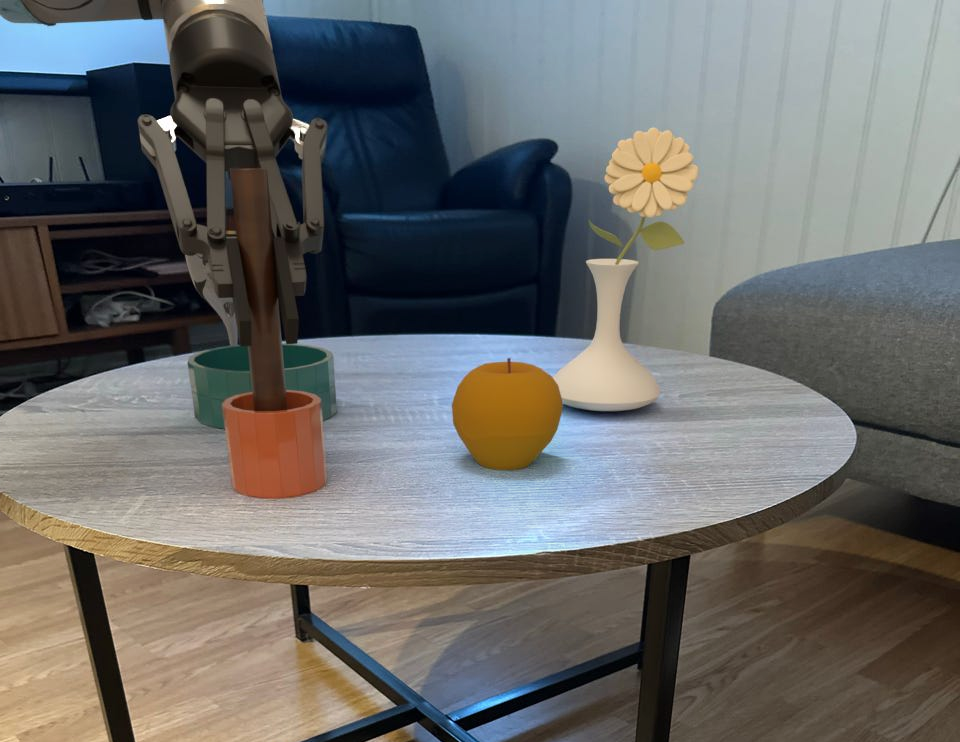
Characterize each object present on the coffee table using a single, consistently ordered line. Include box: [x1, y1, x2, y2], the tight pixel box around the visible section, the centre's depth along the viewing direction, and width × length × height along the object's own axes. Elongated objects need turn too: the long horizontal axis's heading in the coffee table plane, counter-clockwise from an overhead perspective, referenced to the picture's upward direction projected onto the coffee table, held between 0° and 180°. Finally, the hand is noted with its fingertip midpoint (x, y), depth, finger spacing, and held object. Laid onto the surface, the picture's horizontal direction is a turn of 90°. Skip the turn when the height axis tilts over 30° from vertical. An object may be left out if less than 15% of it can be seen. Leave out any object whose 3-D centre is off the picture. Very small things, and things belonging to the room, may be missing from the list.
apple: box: [451, 357, 564, 471], centre depth 75 cm, size 9×9×9 cm
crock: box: [222, 390, 328, 500], centre depth 70 cm, size 7×7×7 cm
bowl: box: [187, 342, 338, 430], centre depth 89 cm, size 13×13×6 cm
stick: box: [229, 168, 288, 411], centre depth 66 cm, size 3×2×21 cm
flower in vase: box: [552, 127, 699, 412], centre depth 89 cm, size 13×11×25 cm
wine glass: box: [184, 230, 238, 346], centre depth 103 cm, size 8×8×15 cm
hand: (269, 332), depth 62 cm, fingers closed on stick, 2 cm apart
